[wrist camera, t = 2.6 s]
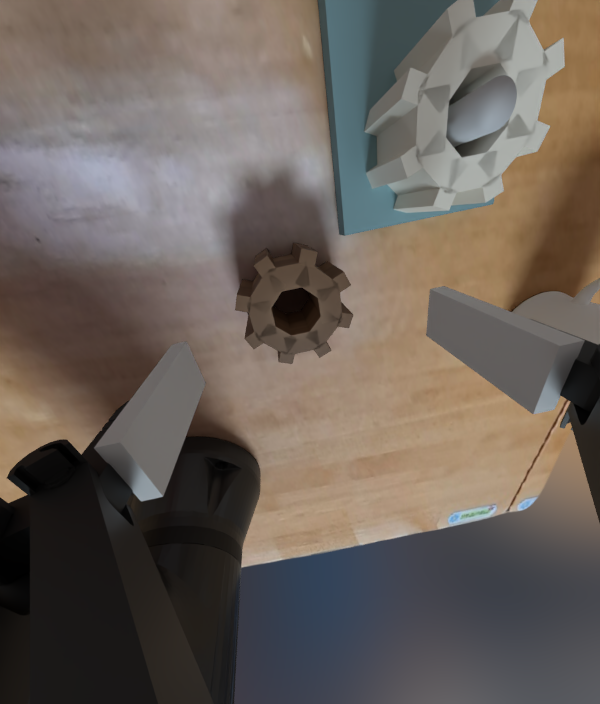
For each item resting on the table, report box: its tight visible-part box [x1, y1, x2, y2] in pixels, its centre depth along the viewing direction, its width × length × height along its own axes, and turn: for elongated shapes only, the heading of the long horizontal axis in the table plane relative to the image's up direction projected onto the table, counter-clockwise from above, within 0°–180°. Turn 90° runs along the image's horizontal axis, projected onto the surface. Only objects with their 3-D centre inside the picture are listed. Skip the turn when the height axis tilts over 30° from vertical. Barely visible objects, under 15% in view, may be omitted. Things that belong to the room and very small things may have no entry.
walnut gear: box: [235, 243, 353, 364], centre depth 20 cm, size 8×8×5 cm
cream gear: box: [364, 0, 565, 213], centre depth 15 cm, size 8×8×5 cm
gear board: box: [318, 0, 517, 235], centre depth 13 cm, size 12×19×8 cm, turn 10°
